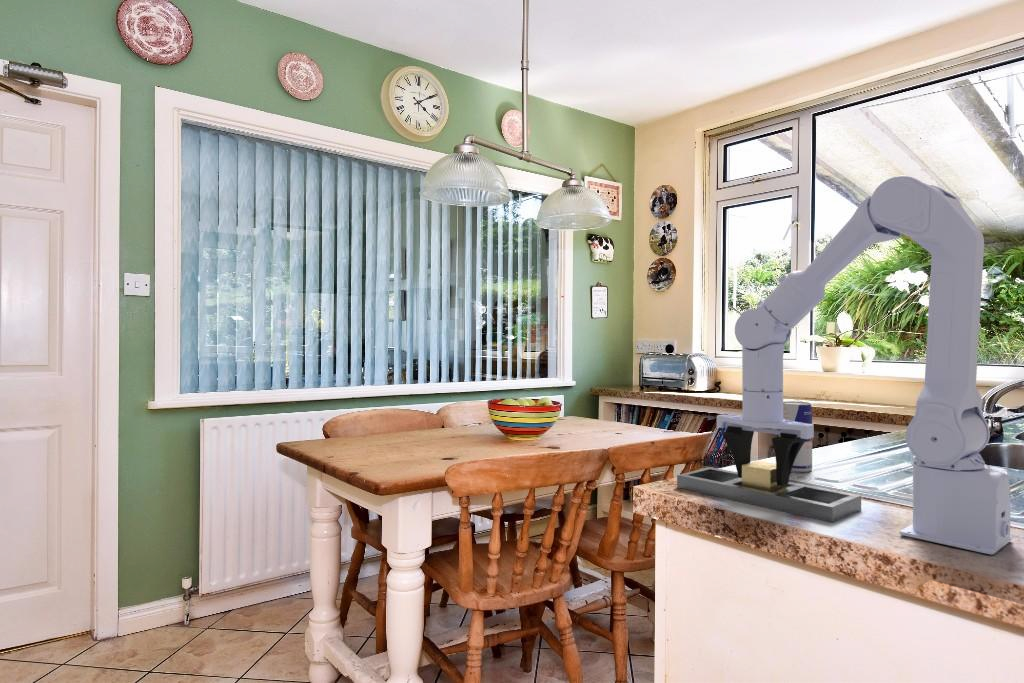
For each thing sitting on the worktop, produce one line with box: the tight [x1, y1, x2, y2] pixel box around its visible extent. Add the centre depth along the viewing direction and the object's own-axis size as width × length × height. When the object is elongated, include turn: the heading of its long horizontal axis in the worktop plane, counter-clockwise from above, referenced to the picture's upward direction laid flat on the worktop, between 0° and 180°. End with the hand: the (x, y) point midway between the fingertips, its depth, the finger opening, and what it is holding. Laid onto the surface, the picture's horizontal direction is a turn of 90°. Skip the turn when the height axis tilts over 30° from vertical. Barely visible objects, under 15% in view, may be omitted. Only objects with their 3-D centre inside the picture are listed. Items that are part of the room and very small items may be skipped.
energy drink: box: [779, 400, 813, 473], centre depth 115 cm, size 5×5×12 cm
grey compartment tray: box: [676, 466, 862, 523], centre depth 96 cm, size 24×9×2 cm, turn 39°
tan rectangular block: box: [742, 460, 785, 492], centre depth 96 cm, size 4×4×5 cm
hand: (762, 480), depth 96 cm, fingers open, 6 cm apart
